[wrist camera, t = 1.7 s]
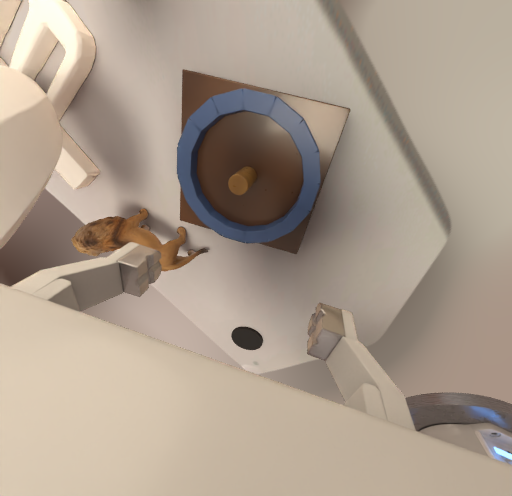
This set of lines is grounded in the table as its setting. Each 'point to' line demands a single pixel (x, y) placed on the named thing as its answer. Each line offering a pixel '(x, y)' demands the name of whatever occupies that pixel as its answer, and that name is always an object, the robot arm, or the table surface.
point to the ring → (281, 115)
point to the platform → (256, 157)
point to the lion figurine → (130, 239)
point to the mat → (247, 338)
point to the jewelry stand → (39, 108)
